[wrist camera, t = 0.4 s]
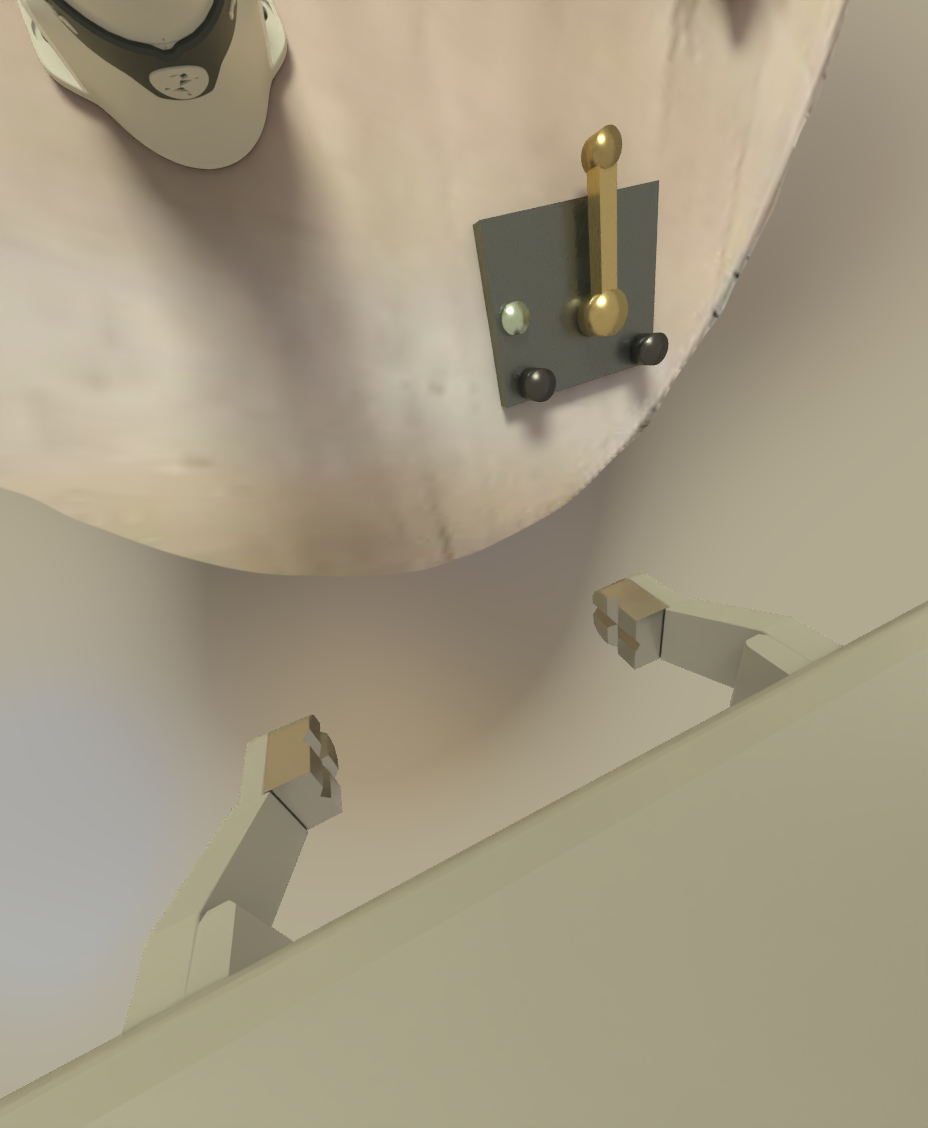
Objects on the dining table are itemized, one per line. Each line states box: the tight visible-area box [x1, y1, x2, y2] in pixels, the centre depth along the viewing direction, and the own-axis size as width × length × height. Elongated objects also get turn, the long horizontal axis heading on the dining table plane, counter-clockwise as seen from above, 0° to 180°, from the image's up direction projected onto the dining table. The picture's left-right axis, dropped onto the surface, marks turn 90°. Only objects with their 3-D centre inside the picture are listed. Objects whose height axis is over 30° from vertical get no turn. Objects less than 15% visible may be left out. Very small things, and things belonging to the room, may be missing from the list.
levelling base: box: [473, 180, 668, 407], centre depth 50 cm, size 20×24×5 cm
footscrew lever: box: [577, 125, 628, 337], centre depth 47 cm, size 19×5×4 cm, turn 13°
